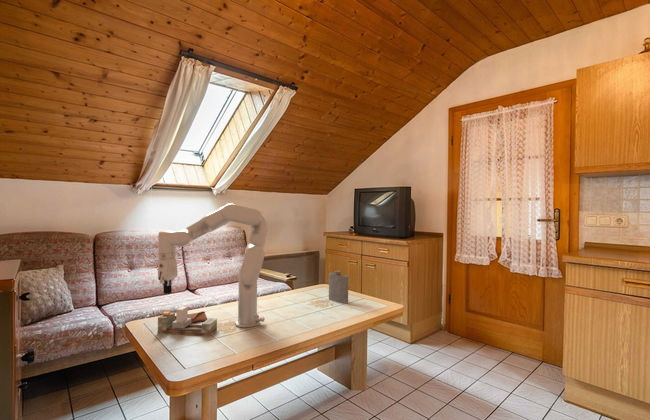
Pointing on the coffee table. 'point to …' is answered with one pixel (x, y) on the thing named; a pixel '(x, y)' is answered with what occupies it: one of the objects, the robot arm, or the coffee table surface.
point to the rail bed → (203, 329)
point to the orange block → (166, 313)
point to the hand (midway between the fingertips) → (167, 293)
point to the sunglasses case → (197, 317)
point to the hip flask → (338, 287)
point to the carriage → (181, 318)
